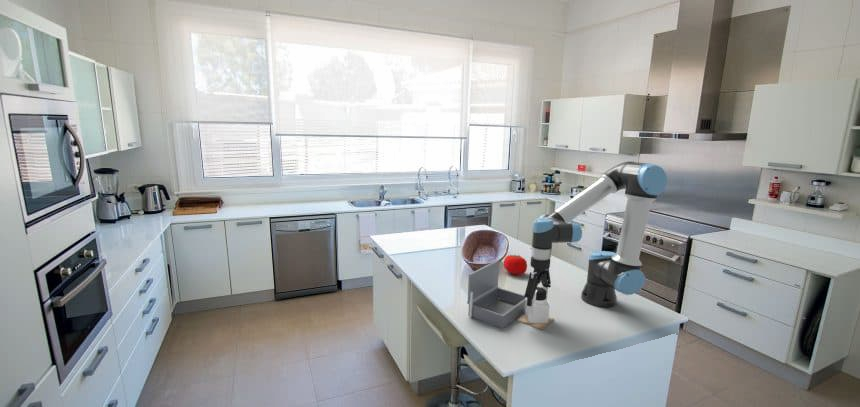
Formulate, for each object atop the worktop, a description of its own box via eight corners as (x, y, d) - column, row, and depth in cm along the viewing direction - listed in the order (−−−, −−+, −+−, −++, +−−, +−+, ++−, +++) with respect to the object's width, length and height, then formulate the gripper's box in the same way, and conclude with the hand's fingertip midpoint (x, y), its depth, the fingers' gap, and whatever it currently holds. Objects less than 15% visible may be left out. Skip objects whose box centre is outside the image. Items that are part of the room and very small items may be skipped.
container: (542, 314, 164) (544, 285, 162) (548, 323, 157) (551, 293, 154) (524, 314, 164) (526, 285, 161) (529, 323, 156) (531, 292, 154)
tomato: (522, 279, 204) (524, 260, 202) (499, 273, 211) (501, 255, 209) (529, 272, 214) (530, 254, 212) (507, 267, 220) (508, 250, 218)
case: (529, 307, 172) (532, 268, 168) (501, 329, 152) (504, 285, 149) (495, 296, 182) (497, 259, 178) (465, 315, 163) (467, 274, 159)
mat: (553, 319, 161) (553, 318, 161) (542, 329, 153) (543, 328, 153) (528, 311, 168) (528, 310, 168) (517, 320, 159) (517, 319, 159)
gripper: (544, 248, 167) (540, 294, 171) (517, 263, 148) (514, 315, 152) (561, 252, 163) (557, 299, 167) (536, 267, 143) (532, 321, 147)
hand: (536, 307), depth 159 cm, fingers open, 13 cm apart
